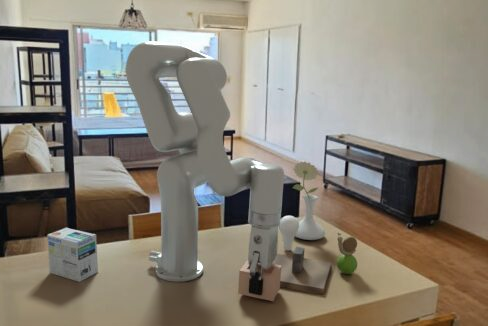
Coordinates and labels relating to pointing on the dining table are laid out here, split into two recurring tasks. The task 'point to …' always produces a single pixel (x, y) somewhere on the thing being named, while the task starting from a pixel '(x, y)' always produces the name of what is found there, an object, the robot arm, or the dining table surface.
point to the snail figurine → (347, 255)
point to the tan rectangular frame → (269, 281)
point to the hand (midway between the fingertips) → (259, 285)
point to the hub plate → (303, 272)
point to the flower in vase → (308, 204)
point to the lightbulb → (288, 230)
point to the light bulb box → (72, 254)
